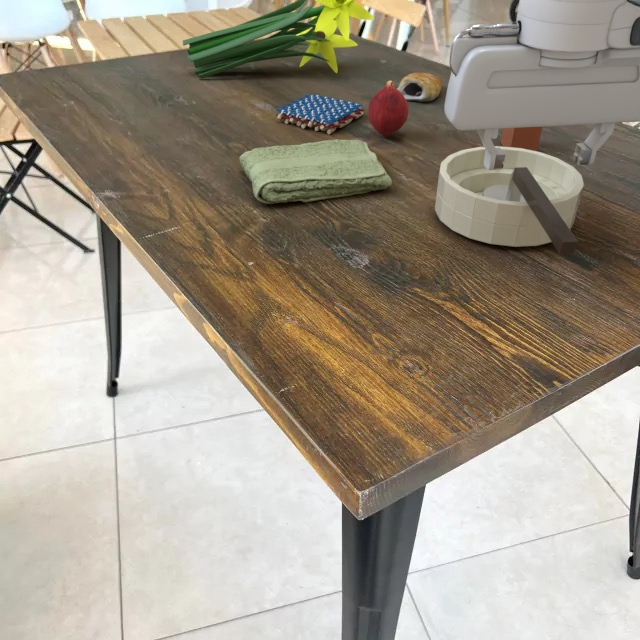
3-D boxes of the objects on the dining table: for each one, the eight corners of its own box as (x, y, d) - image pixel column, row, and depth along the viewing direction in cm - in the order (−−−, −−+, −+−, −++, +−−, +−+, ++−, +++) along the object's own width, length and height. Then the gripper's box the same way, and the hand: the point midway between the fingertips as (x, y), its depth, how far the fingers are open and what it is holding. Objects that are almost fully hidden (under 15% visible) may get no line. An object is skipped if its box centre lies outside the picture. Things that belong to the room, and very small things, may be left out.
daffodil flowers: (201, 62, 129) (372, 10, 125) (211, 121, 124) (389, 69, 120) (167, -5, 114) (360, -67, 110) (176, 60, 108) (379, -3, 104)
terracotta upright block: (526, 142, 94) (534, 106, 91) (536, 153, 91) (544, 116, 88) (500, 143, 94) (506, 106, 91) (509, 154, 91) (516, 116, 88)
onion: (408, 144, 93) (413, 87, 89) (368, 143, 93) (371, 87, 89) (403, 129, 98) (408, 75, 93) (365, 129, 98) (368, 75, 93)
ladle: (474, 199, 77) (484, 148, 73) (516, 198, 77) (529, 146, 73) (526, 299, 63) (543, 242, 59) (577, 296, 64) (598, 240, 59)
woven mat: (331, 136, 96) (331, 123, 94) (273, 122, 100) (273, 109, 99) (366, 116, 103) (367, 103, 101) (311, 103, 107) (310, 91, 106)
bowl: (541, 185, 83) (551, 144, 79) (594, 248, 70) (608, 202, 67) (421, 190, 81) (426, 148, 78) (454, 254, 69) (461, 208, 66)
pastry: (414, 84, 116) (416, 62, 113) (450, 90, 113) (453, 67, 111) (393, 99, 109) (395, 75, 107) (430, 106, 107) (433, 82, 104)
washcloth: (396, 193, 81) (398, 169, 79) (257, 211, 77) (256, 186, 75) (361, 153, 91) (362, 130, 89) (237, 167, 87) (235, 144, 85)
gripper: (463, 33, 55) (446, 184, 63) (694, 24, 56) (647, 173, 64) (444, 16, 60) (430, 158, 68) (657, 8, 61) (618, 148, 69)
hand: (537, 165), depth 66 cm, fingers open, 8 cm apart
